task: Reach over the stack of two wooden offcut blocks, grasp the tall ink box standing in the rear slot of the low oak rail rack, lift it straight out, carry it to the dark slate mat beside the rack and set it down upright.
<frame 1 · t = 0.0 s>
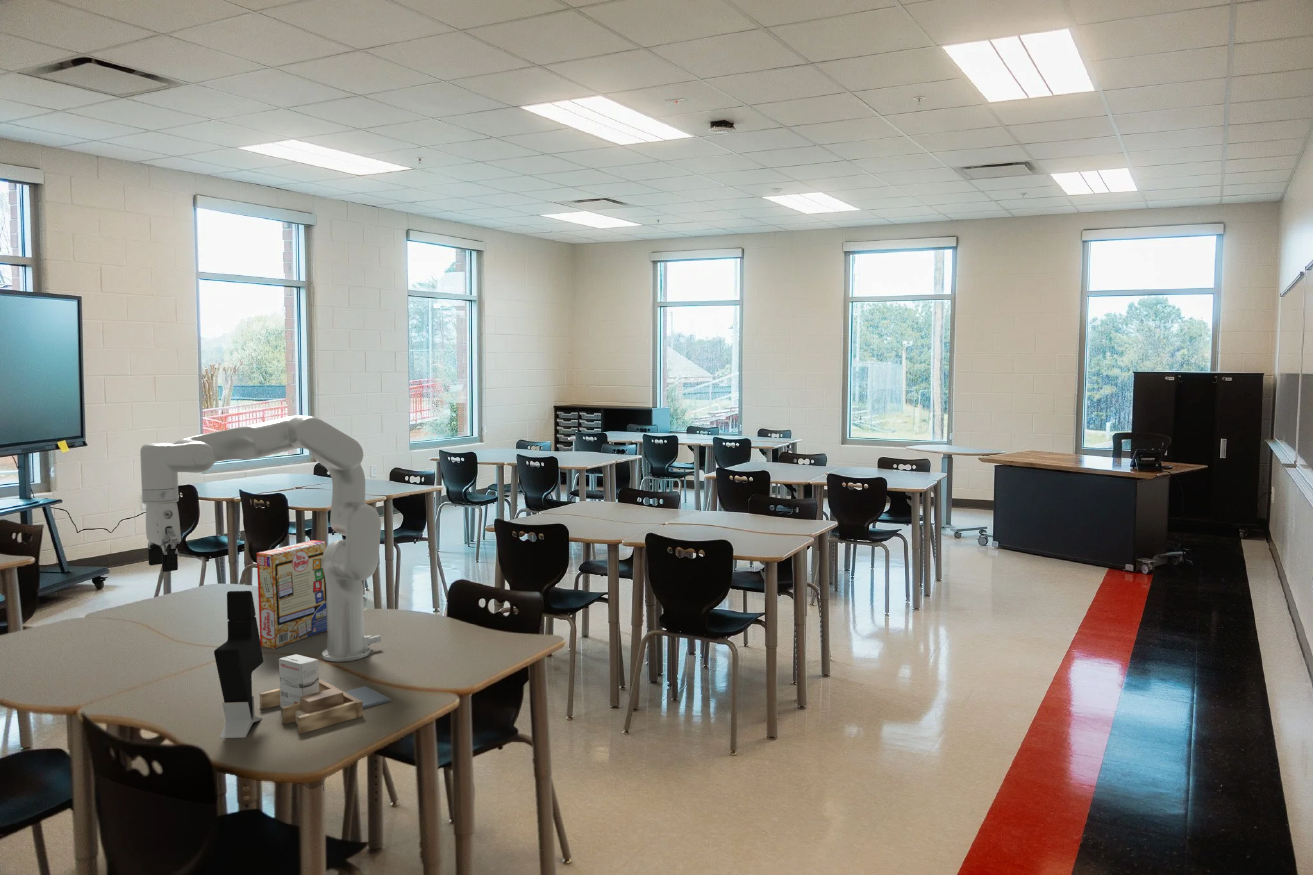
hand: (163, 567, 216), 31 cm above the table, fingers open, 9 cm apart
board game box: (295, 639, 265), on the table
offcut a: (319, 721, 204), resting in rack, touching offcut b
mat: (362, 698, 217), on the table
rack: (307, 712, 208), on the table
award: (242, 728, 199), on the table
ink box: (300, 709, 211), on the table
offcut b: (322, 707, 204), point 3 cm above the table, touching offcut a
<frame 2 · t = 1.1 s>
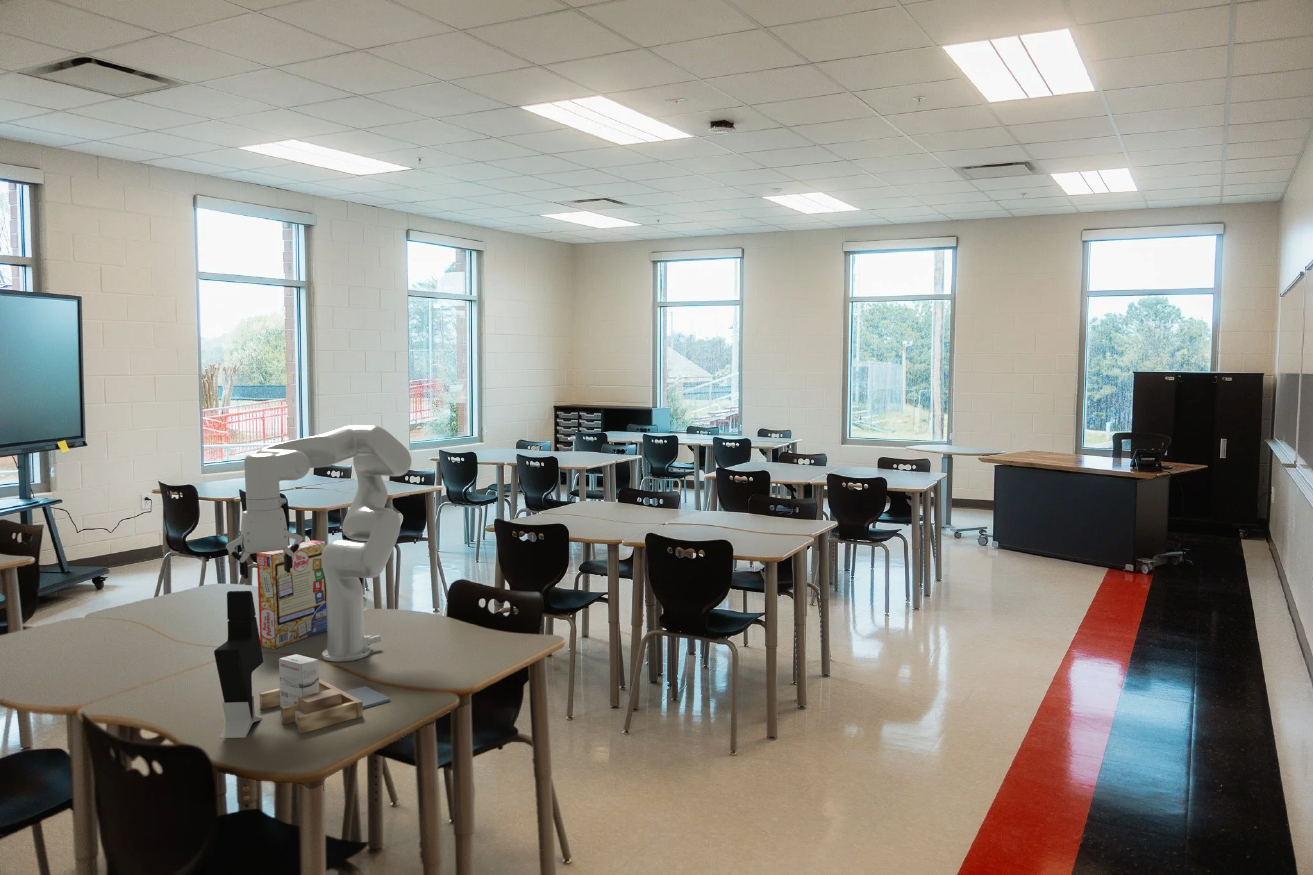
hand: (266, 574, 221), 28 cm above the table, fingers open, 9 cm apart
nothing on the table moved.
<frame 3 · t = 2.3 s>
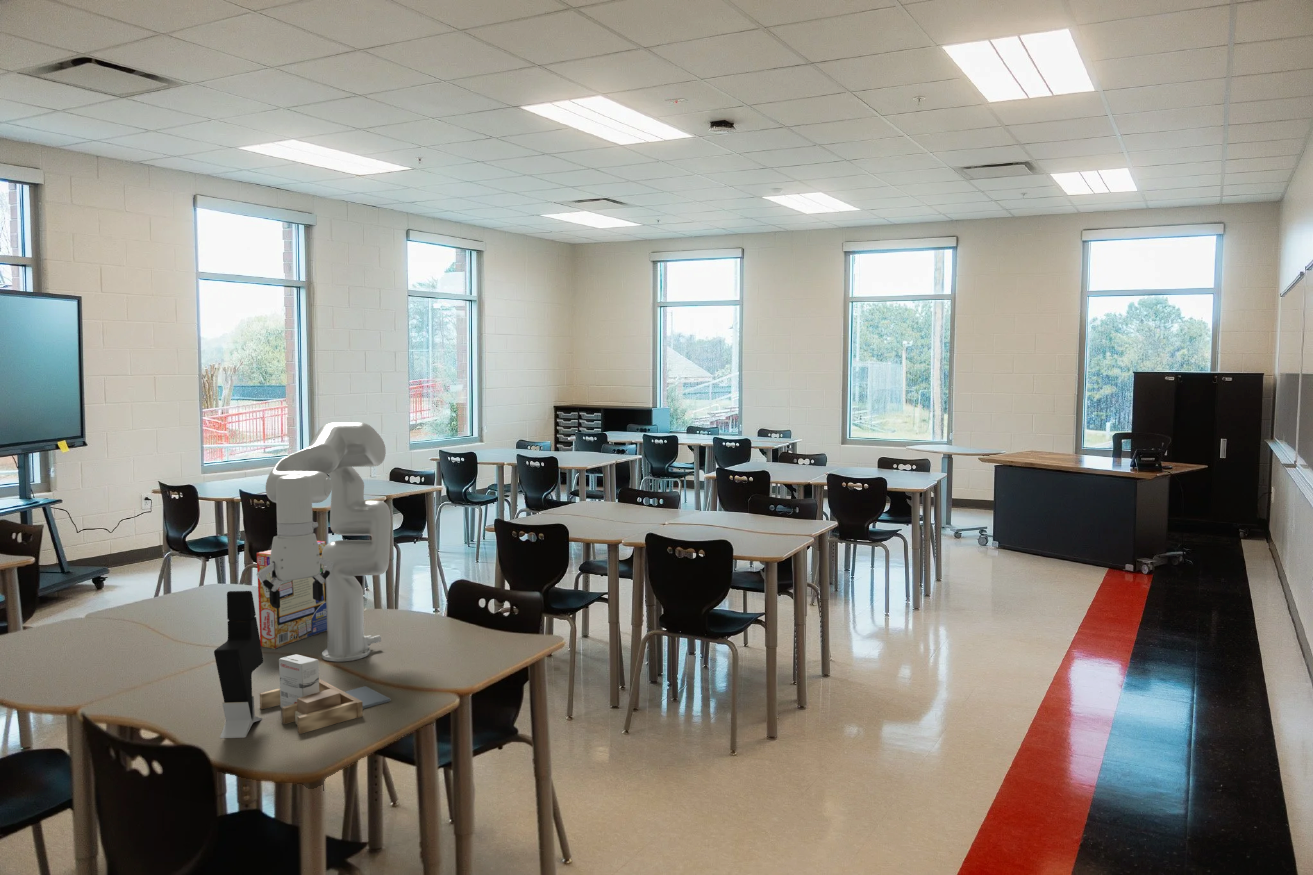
hand: (296, 603, 209), 25 cm above the table, fingers open, 9 cm apart
nothing on the table moved.
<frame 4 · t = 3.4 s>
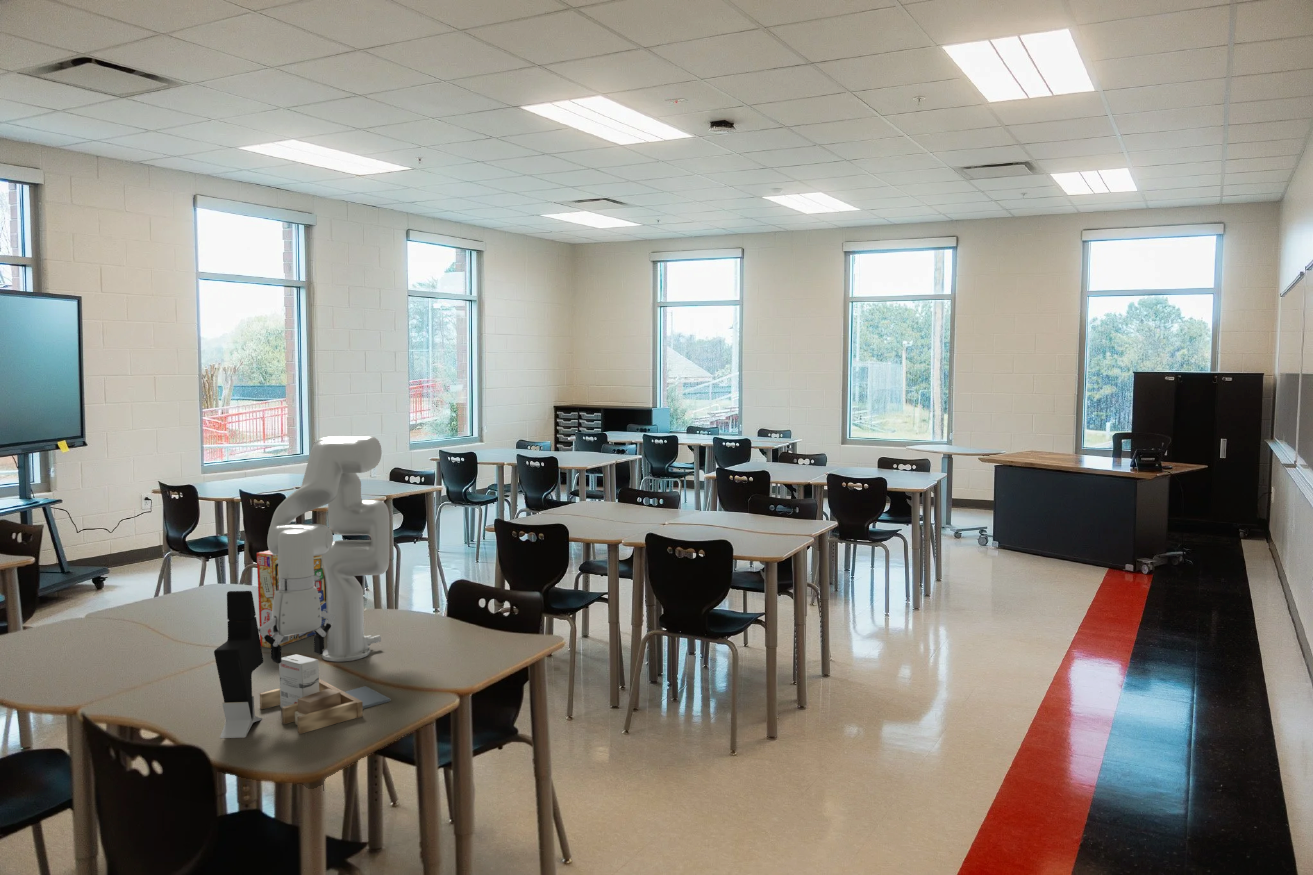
hand: (298, 657, 209), 12 cm above the table, fingers open, 9 cm apart
nothing on the table moved.
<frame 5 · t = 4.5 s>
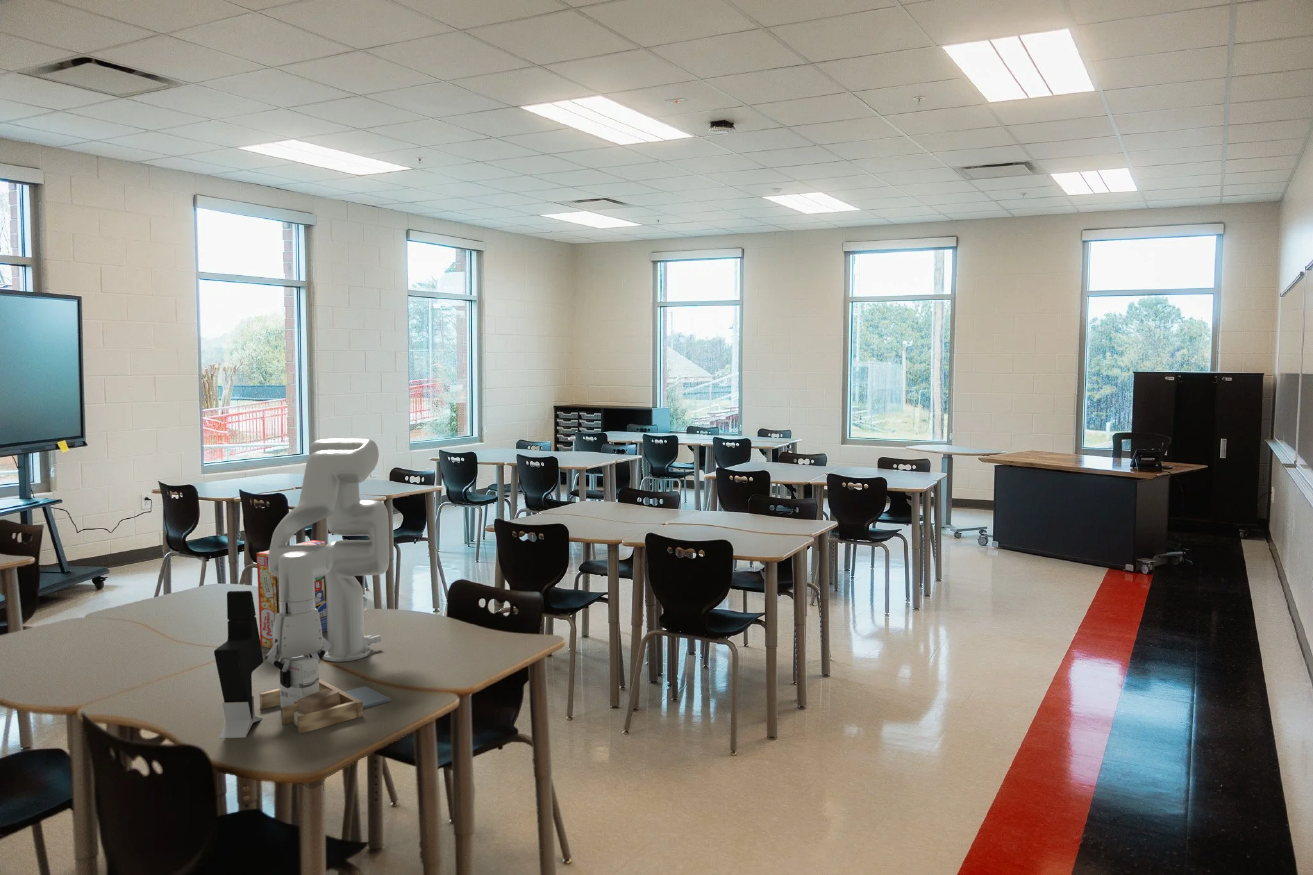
hand: (299, 682, 210), 6 cm above the table, fingers closed on ink box, 5 cm apart
ink box: (300, 709, 211), on the table, touching gripper
everything else where it was.
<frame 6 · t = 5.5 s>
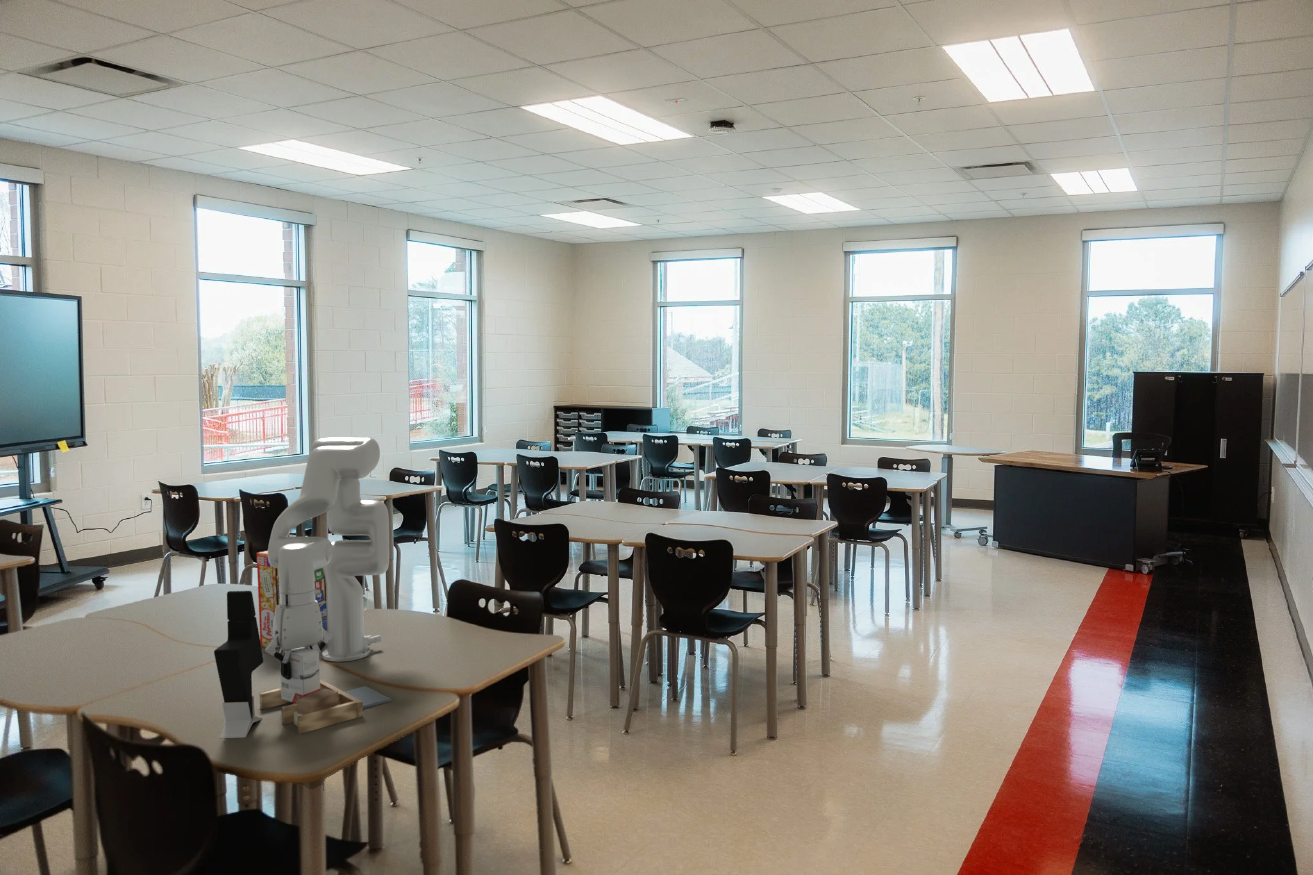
hand: (300, 673, 211), 8 cm above the table, fingers closed on ink box, 5 cm apart
ink box: (301, 700, 211), point 2 cm above the table, touching gripper
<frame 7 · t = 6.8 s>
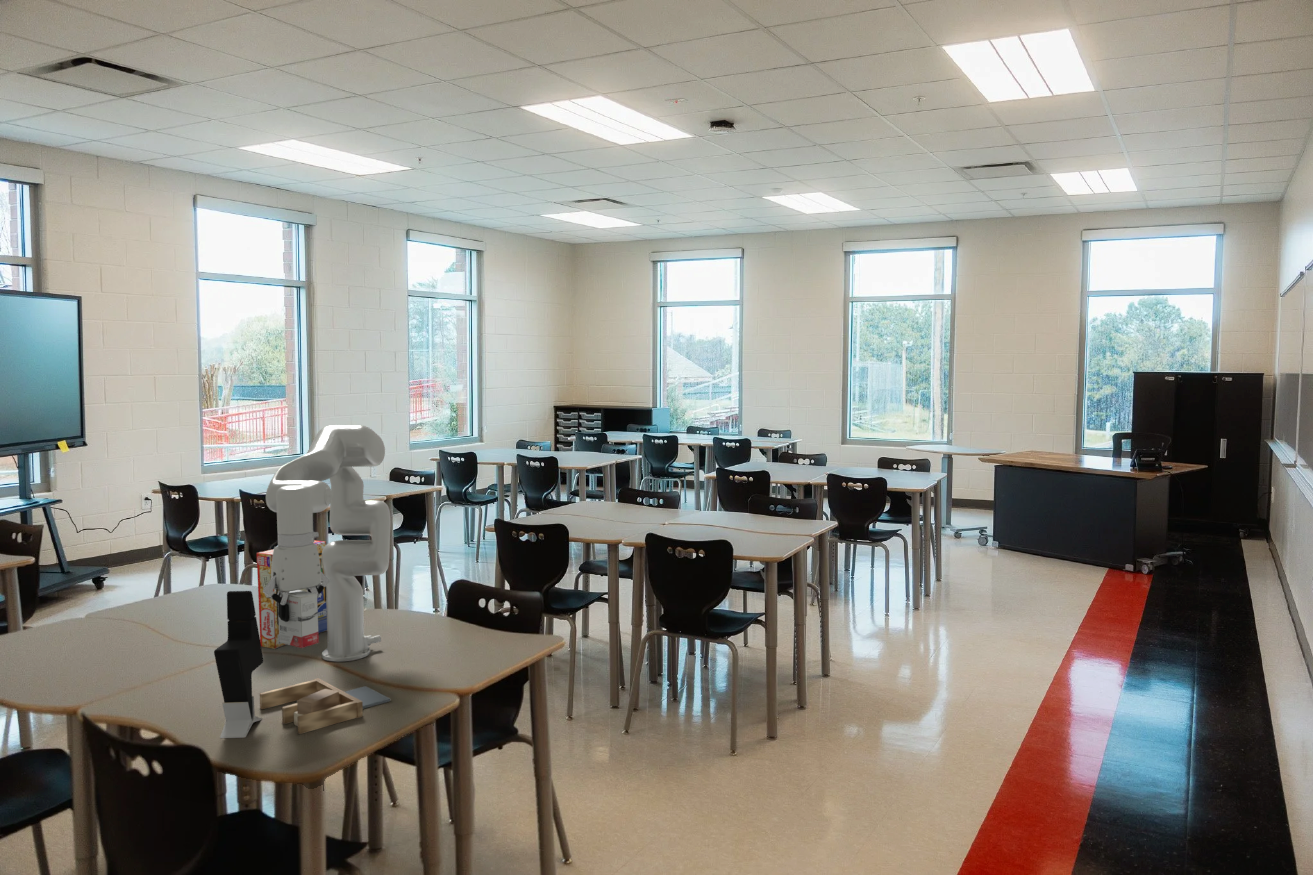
hand: (298, 616, 209), 21 cm above the table, fingers closed on ink box, 5 cm apart
offcut a: (318, 722, 203), resting in rack
ink box: (299, 643, 210), point 15 cm above the table, touching gripper
offcut b: (318, 708, 203), point 3 cm above the table
everything else where it was.
when the fingers open (7 cm above the table, at t = 11.3 s): ink box stays where it is, resting on mat.
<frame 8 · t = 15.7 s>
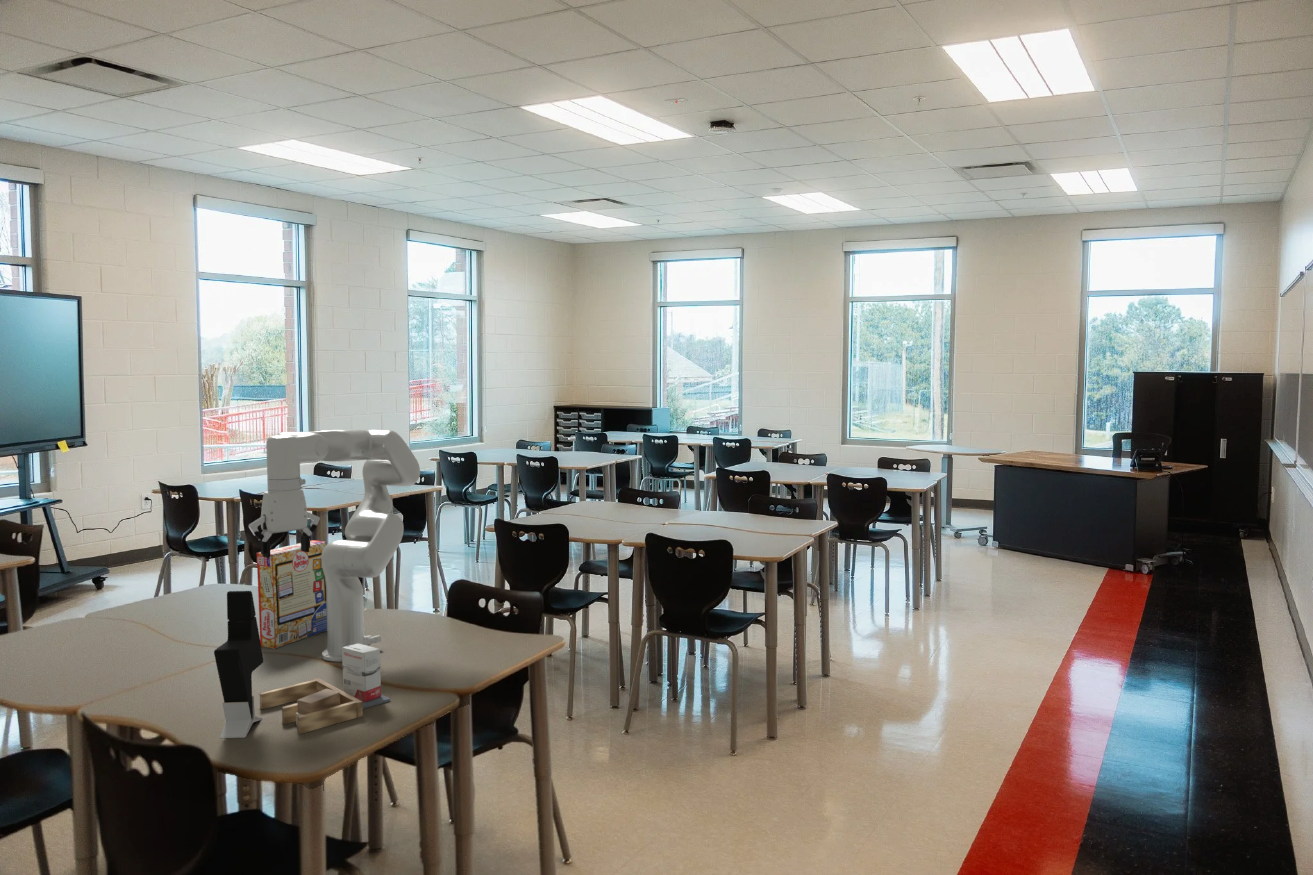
hand: (286, 554, 226), 32 cm above the table, fingers open, 9 cm apart
offcut a: (320, 723, 203), resting in rack
ink box: (362, 696, 217), resting on mat
everything else where it was.
at the end: ink box inside the target area on the mat (0.2 cm from its centre), point 0.4 cm above the mat's base; ink box tilted 0°; the gripper is holding nothing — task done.
